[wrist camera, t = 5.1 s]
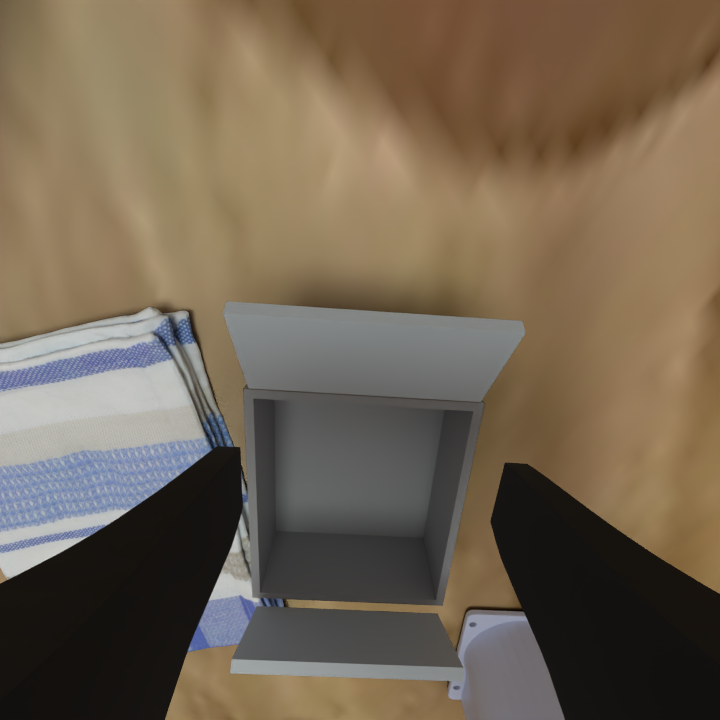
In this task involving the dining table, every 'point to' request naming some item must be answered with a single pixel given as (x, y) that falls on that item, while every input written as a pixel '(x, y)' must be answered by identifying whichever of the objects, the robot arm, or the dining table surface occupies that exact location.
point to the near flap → (369, 351)
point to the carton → (355, 494)
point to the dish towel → (110, 444)
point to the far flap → (347, 645)
